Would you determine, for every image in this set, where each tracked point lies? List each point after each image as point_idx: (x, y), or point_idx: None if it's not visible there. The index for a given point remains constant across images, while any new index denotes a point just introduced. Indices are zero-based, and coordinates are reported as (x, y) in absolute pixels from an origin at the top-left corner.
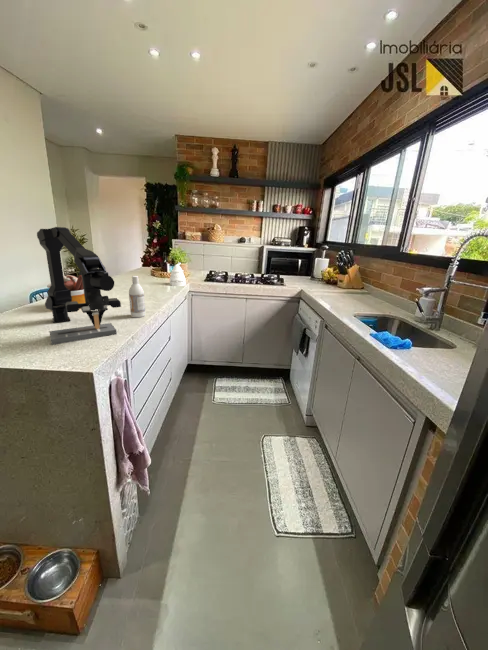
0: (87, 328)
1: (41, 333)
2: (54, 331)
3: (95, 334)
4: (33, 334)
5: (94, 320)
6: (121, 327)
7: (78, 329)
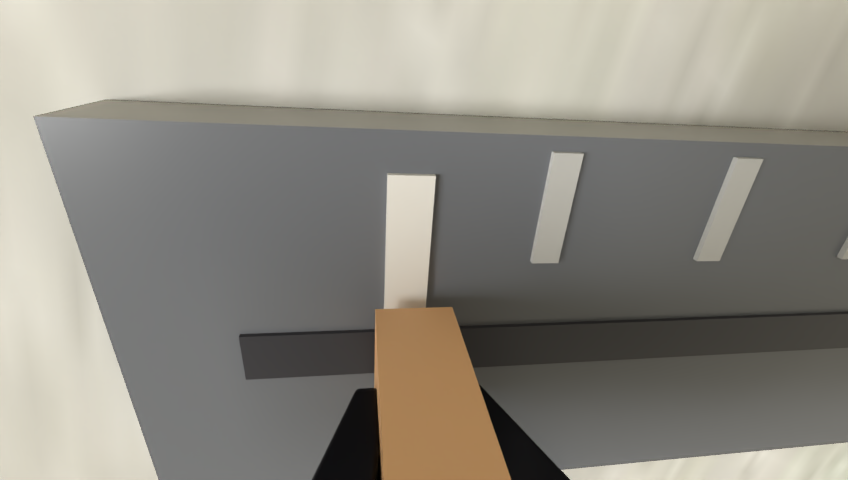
0: (527, 397)
1: (800, 470)
2: (836, 420)
3: (491, 124)
4: (845, 467)
5: (503, 464)
6: (36, 394)
7: (630, 400)
